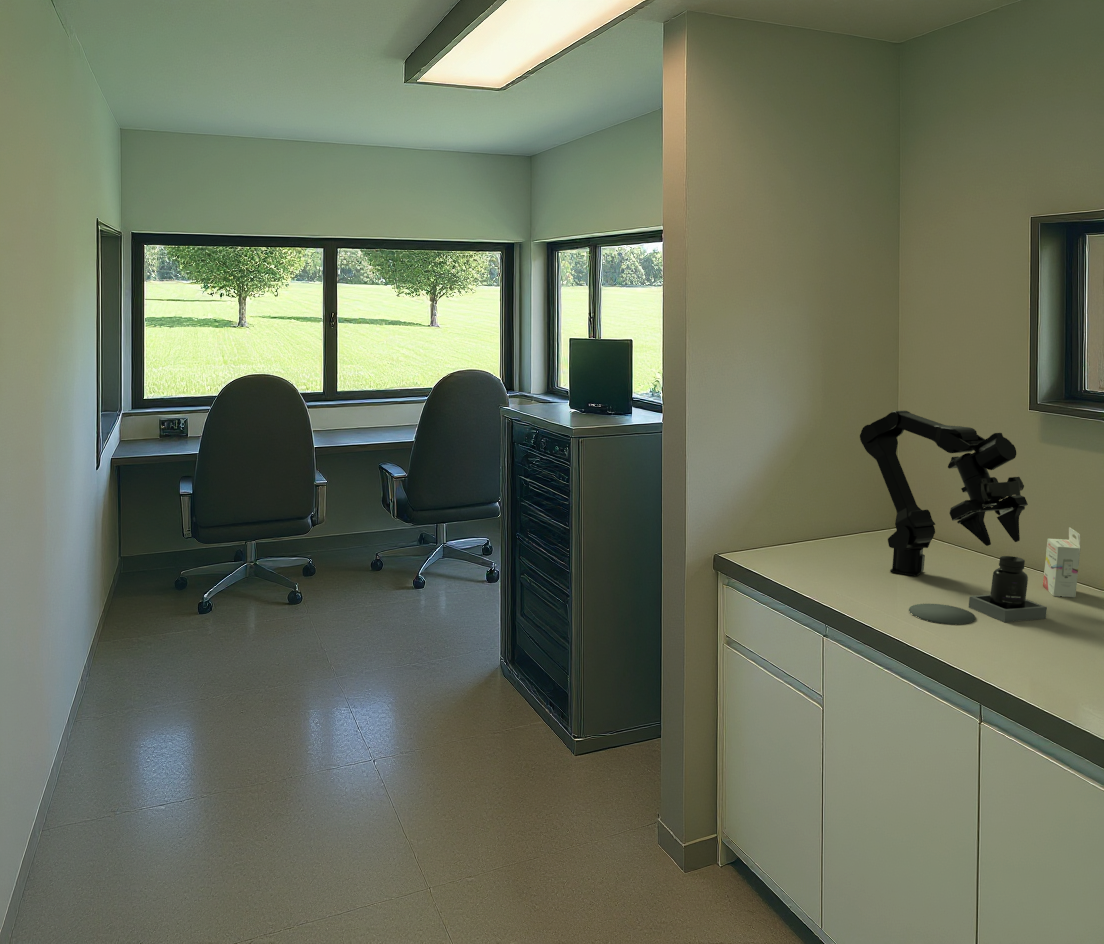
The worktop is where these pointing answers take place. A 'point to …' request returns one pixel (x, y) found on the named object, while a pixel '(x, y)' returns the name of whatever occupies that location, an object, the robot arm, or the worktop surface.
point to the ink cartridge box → (1062, 565)
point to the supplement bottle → (1009, 583)
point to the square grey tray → (1007, 610)
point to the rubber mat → (942, 613)
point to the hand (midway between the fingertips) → (1003, 543)
